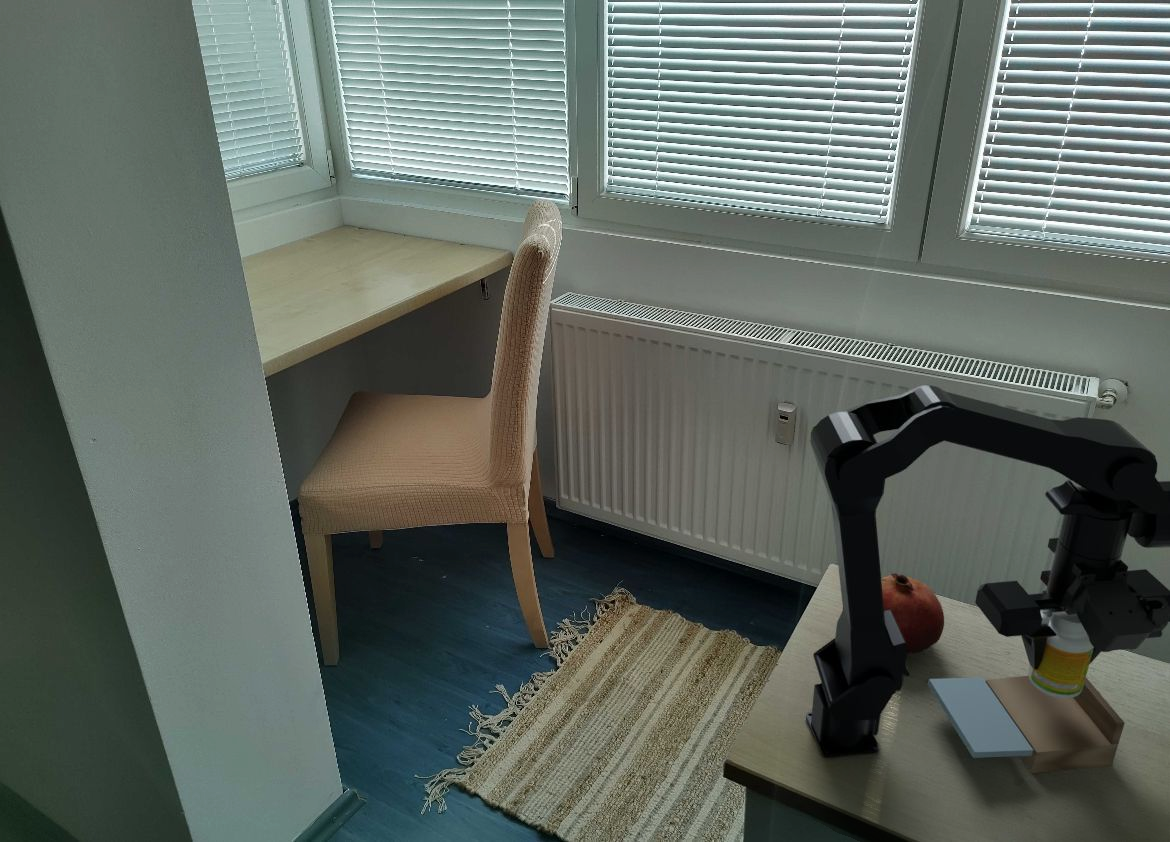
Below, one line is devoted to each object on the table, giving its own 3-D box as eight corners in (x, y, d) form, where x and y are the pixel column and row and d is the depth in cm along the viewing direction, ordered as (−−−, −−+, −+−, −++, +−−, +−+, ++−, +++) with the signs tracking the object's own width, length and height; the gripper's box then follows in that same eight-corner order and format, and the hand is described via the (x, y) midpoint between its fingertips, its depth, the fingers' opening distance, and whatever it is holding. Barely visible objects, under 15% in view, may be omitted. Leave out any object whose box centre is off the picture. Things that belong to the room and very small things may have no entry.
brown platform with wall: (1031, 773, 97) (1042, 731, 94) (981, 699, 106) (989, 659, 104) (1112, 764, 97) (1124, 722, 94) (1055, 691, 107) (1065, 652, 104)
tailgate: (1030, 757, 95) (972, 759, 95) (980, 684, 105) (927, 686, 105) (1033, 750, 95) (974, 752, 94) (982, 677, 105) (929, 678, 104)
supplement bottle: (1088, 703, 96) (1108, 630, 91) (1033, 697, 97) (1051, 625, 92) (1074, 668, 100) (1093, 597, 96) (1022, 662, 101) (1038, 593, 97)
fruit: (841, 651, 115) (847, 587, 110) (866, 608, 122) (873, 547, 118) (927, 681, 109) (938, 615, 105) (947, 634, 117) (958, 571, 112)
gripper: (1044, 601, 83) (1014, 728, 90) (1237, 584, 84) (1193, 710, 91) (985, 534, 93) (962, 653, 100) (1158, 520, 94) (1123, 638, 101)
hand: (1059, 664), depth 97 cm, fingers closed on supplement bottle, 5 cm apart
